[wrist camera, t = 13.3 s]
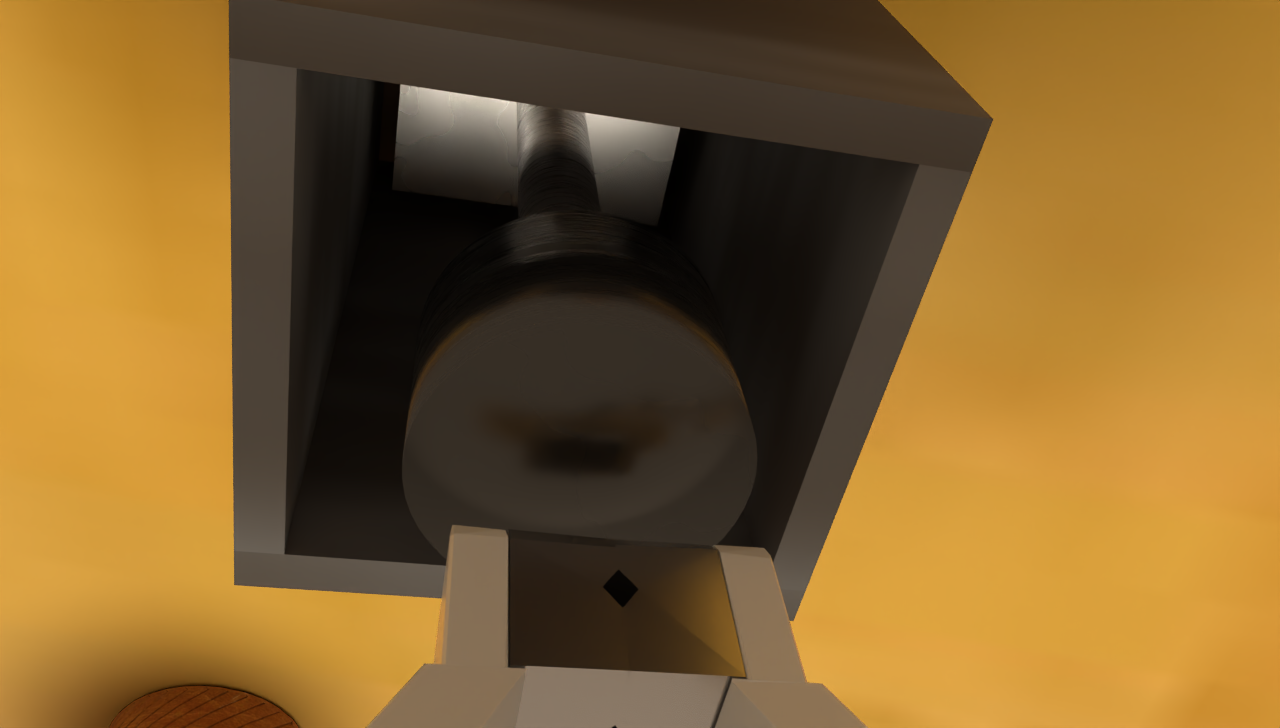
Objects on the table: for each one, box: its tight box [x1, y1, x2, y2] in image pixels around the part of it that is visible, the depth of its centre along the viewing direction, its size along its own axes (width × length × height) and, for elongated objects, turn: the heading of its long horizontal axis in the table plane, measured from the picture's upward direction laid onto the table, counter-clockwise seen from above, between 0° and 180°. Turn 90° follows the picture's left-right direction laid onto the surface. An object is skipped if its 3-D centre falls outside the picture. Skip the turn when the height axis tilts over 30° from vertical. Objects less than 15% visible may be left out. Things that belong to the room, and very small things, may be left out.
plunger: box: [392, 84, 757, 560], centre depth 16 cm, size 5×5×12 cm
